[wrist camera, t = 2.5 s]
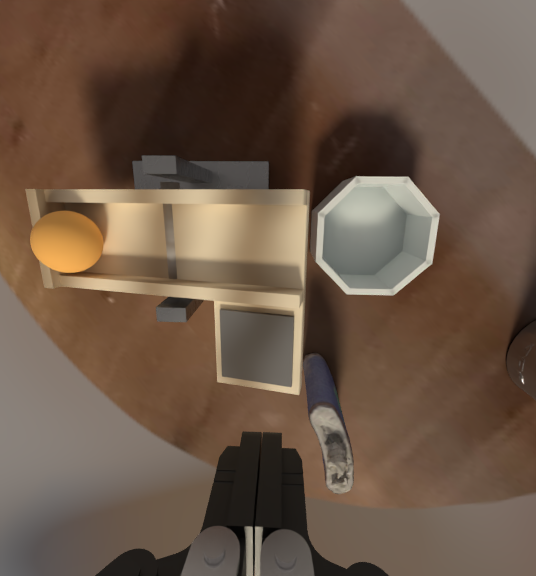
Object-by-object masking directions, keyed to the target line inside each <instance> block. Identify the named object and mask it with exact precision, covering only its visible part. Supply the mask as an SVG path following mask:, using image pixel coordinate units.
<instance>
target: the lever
mask: <svg viewBox="0 0 536 576" xmlns="http://www.w3.org/2000/svg"><path fill="white" fill-rule="evenodd" d="M160 186H161V189H119V190H43V189H25V190H26V195H27V200H28V205H29V211H30V216H31V221H32V226H33V227H34V225H35V224H36V222H37V221H38V220H39V219H41V218H42V217H43V216H45V215H47V214H49V213H52V212H56V211H72V212H77V213H79V214H82V215H84V216H86V217H87V218H89V219H90V220H92V221H93V222H94V223H95V224H96V225H97V227H98V228H99V230H100V232H101V234H102V237H103V243H104V245H103V251H102V254H101V256H100V258H99V260H98V261H97V262H96V263H95V264H94V265H93V266H91V267H90V268H88V269H86V270H83V271H80V272H75V273H65V272H59V271H56V270H53V269H51V268H49V267H47V266H46V265H44V264H43V263H42V262H41V261H40V260H39V262H40V268H41V273H42V278H43V283H44V288H57V287H60V286H63V287H74V288H85V289H95V290H106V291H117V292H127V293H138V294H148V295H159V296H170V297H175V298H177V297H180V298H191V299H202V300H212V301H214V310H215V335H216V360H217V382H222V383H228V384H234V385H240V386H246V387H253V388H259V389H265V390H271V391H277V392H283V393H289V394H296V395H299V394H300V390H301V383H302V360H303V337H304V314H305V291H306V268H307V245H308V222H309V199H310V191H308V190H304V189H180V183H179V182H160Z"/></svg>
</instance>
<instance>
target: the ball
mask: <svg viewBox="0 0 536 576" xmlns="http://www.w3.org/2000/svg"><path fill="white" fill-rule="evenodd" d="M30 243H31V247H32V250H33V252H34V254H35V255H36V257H37V258H38V259H39V260H40V261H41V262H42V263H43V264H44V265H46V266H47V267H49V268H51V269H53V270H56V271H59V272H65V273H75V272H80V271H83V270H86V269H88V268H90V267H91V266H93V265H94V264H95V263H96V262H97V261H98V260H99V258H100V256H101V254H102V251H103V245H104V243H103V237H102V234H101V232H100V230H99V228H98V227H97V225H96V224H95V223H94V222H93V221H92V220H90V219H89V218H87V217H86V216H84V215H82V214H79V213H77V212H72V211H56V212H52V213H49V214H47V215H45V216H43V217H42V218H41V219H39V220H38V221H37V222H36V224H35V225H34V227H33V229H32V231H31V237H30Z"/></svg>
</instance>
